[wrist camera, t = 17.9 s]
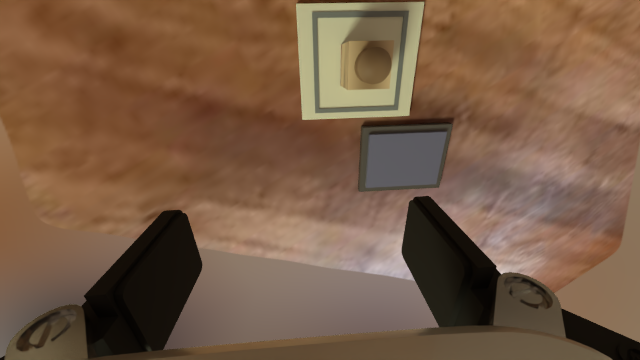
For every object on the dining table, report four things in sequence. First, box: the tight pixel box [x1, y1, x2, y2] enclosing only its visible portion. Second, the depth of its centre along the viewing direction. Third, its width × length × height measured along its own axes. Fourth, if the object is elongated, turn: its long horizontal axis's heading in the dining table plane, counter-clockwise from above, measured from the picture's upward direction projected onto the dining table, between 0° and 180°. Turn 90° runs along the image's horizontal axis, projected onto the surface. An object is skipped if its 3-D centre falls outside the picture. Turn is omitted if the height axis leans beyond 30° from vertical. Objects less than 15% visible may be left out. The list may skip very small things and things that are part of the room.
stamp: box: [340, 40, 394, 90], centre depth 29 cm, size 5×5×8 cm
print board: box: [296, 2, 424, 120], centre depth 33 cm, size 16×14×1 cm
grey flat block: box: [358, 123, 453, 192], centre depth 39 cm, size 14×11×2 cm
